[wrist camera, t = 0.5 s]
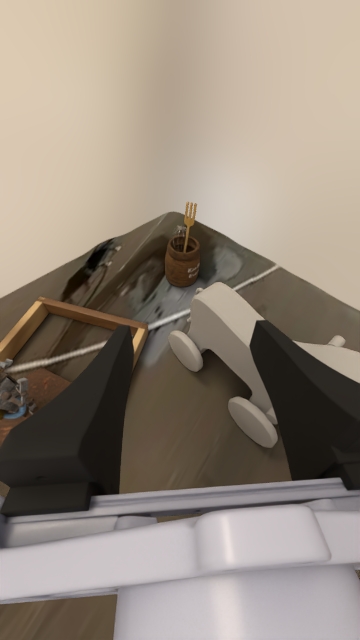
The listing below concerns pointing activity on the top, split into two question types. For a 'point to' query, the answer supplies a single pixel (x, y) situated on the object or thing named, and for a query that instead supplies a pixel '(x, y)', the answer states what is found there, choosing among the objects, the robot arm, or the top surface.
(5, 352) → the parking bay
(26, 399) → the robot figurine
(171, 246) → the utensil holder
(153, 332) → the top surface
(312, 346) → the pony
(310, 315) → the top surface
